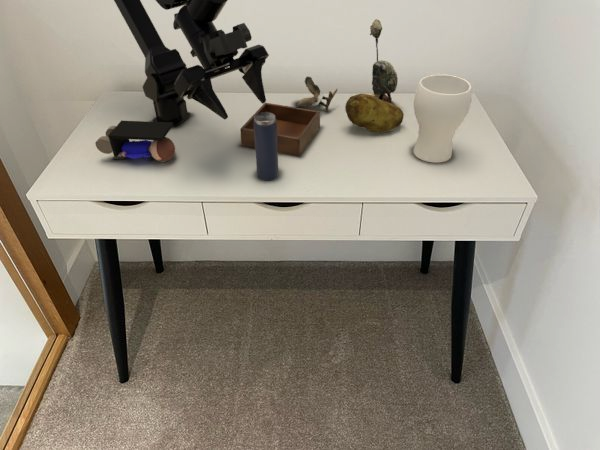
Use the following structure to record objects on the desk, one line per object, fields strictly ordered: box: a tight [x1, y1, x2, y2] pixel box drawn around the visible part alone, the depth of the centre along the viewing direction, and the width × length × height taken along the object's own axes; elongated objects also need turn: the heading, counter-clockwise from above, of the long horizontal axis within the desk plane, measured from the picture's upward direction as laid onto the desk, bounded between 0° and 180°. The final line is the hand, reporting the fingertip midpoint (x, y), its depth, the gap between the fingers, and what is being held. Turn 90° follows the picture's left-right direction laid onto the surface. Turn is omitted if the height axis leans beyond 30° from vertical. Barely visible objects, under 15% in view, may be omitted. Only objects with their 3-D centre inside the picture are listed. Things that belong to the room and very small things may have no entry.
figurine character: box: [95, 120, 176, 163], centre depth 101 cm, size 7×8×15 cm
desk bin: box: [239, 102, 321, 157], centre depth 109 cm, size 13×13×4 cm
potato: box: [344, 93, 405, 133], centre depth 110 cm, size 8×13×8 cm, turn 82°
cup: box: [413, 73, 473, 164], centre depth 100 cm, size 11×11×15 cm
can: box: [253, 112, 280, 182], centre depth 94 cm, size 4×4×12 cm
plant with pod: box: [369, 18, 398, 107], centre depth 114 cm, size 8×11×20 cm
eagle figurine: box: [294, 76, 338, 113], centre depth 119 cm, size 8×7×9 cm
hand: (245, 110), depth 94 cm, fingers open, 9 cm apart
